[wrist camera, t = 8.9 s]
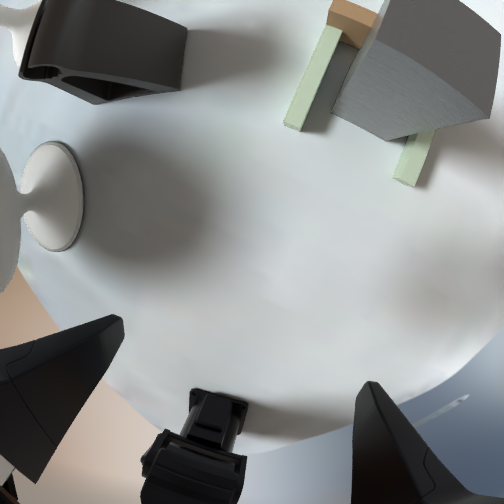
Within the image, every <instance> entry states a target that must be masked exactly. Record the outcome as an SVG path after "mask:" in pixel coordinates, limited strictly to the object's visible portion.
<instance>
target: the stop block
mask: <svg viewBox="0 0 504 504" xmlns="http://www.w3.org/2000/svg"><path fill="white" fill-rule="evenodd" d="M500 47H501V34H500V33H499V32H498V31H497V30H495V29H494V28H493V27H492V26H491V25H490V24H489V23H487V22H486V21H485V20H484V19H483V18H481V17H480V16H479V15H478V14H476V13H475V12H474V11H473V10H471V9H470V8H469V7H467V6H466V5H465V4H463V3H462V2H460V1H459V0H385V1H384V3H383V5H382V7H381V9H380V11H379V13H378V14H377V16H376V18H375V20H374V22H373V24H372V26H371V28H370V30H369V32H368V34H367V36H366V38H365V40H364V41H363V43H362V45H361V47H360V49H359V51H358V53H357V55H356V57H355V59H354V61H353V63H352V65H351V67H350V69H349V72H348V74H347V76H346V79H345V81H344V83H343V86H342V88H341V90H340V92H339V95H338V97H337V99H336V102H335V104H334V106H333V109H332V111H331V113H332V114H334V115H337V116H339V117H341V118H343V119H345V120H347V121H349V122H351V123H353V124H355V125H357V126H359V127H361V128H363V129H364V130H366V131H368V132H370V133H372V134H374V135H375V136H377V137H379V138H381V139H383V140H384V141H388V140H392V139H396V138H400V137H404V136H408V135H412V134H416V133H420V132H424V131H429V130H433V129H438V128H442V127H447V126H452V125H457V124H462V123H467V122H472V121H477V120H483V119H489V118H490V114H491V110H492V105H493V100H494V95H495V89H496V83H497V76H498V68H499V59H500Z"/></svg>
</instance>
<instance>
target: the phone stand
mask: <svg viewBox="0 0 504 504" xmlns="http://www.w3.org/2000/svg"><path fill="white" fill-rule="evenodd" d="M186 34H187V28H186V27H184V26H182V25H179V24H177V23H175V22H173V21H170V20H168V19H166V18H163V17H161V16H158V15H156V14H153V13H151V12H148V11H146V10H143V9H140V8H137V7H135V6H132V5H129V4H126V3H123V2H119V1H116V0H42V1H41V4H40V6H39V8H38V11H37V14H36V16H35V19H34V22H33V24H32V27H31V30H30V33H29V36H28V40H27V43H26V46H25V50H24V54H23V57H22V61H21V65H20V70H19V74H18V75H19V77H20V78H22V79H24V80H31V81H41V82H45V83H48V84H51V85H53V86H55V87H57V88H59V89H62V90H64V91H66V92H68V93H70V94H72V95H74V96H77V97H79V98H81V99H83V100H85V101H87V102H89V103H91V104H93V105H98V104H102V103H107V102H111V101H116V100H121V99H126V98H132V97H137V96H143V95H150V94H157V93H165V92H173V91H179V89H180V80H181V71H182V62H183V55H184V47H185V40H186Z"/></svg>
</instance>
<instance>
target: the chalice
mask: <svg viewBox="0 0 504 504" xmlns="http://www.w3.org/2000/svg"><path fill="white" fill-rule="evenodd" d="M82 215H83V187H82V181H81V177H80V172H79V169H78V167H77V164H76V161H75V159H74V158H73V156H72V154H71V153H70V151H69V150H68V149H67V148H66V147H65V146H64V145H62V144H60V143H58V142H55V141H48V142H45V143H43V144H41V145H40V146H38V147H37V148H36V149H35V150H34V152H33V153H32V154H31V156H30V157H29V159H28V161H27V164H26V166H25V168H24V172H23V175H22V181H21V193H19V192H18V191H17V188H16V184H15V180H14V176H13V173H12V170H11V168H10V166H9V163H8V161H7V158H6V156H5V154H4V153H3V152H2V150H1V149H0V293H1V292H3V291H4V290H5V288H6V287H7V285H8V284H9V282H10V281H11V279H12V277H13V274H14V272H15V269H16V266H17V263H18V257H19V250H20V239H21V217H22V216H24V220H25V222H26V225H27V227H28V229H29V231H30V233H31V235H32V236H33V237H34V239H35V240H36V241H37V242H38V243H39V244H40V245H41V246H42V247H44V248H45V249H47V250H49V251H52V252H60V251H63V250H65V249H67V248H68V247H69V246H70V245H71V244H72V243H73V241H74V239H75V238H76V236H77V234H78V231H79V228H80V226H81V220H82Z"/></svg>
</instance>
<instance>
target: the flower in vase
mask: <svg viewBox="0 0 504 504" xmlns="http://www.w3.org/2000/svg"><path fill="white" fill-rule="evenodd" d="M41 1H42V0H40V1H39V2H37V3H35V4H34V5H32V6H30V7H28V8H26V9H22V10H19V9H12V8H8V7H5V6H2V5H0V26H2V27H5V28H7V29H9V30H10V31H11V33H12V37H13V52H14V58H15V61H16V64H17V65H18V66H19V67H20V65H21V61H22V57H23V54H24V50H25V46H26V43H27V40H28V36H29V33H30V30H31V27H32V24H33V22H34V19H35V16H36V14H37V11H38V8H39V6H40V4H41Z"/></svg>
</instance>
